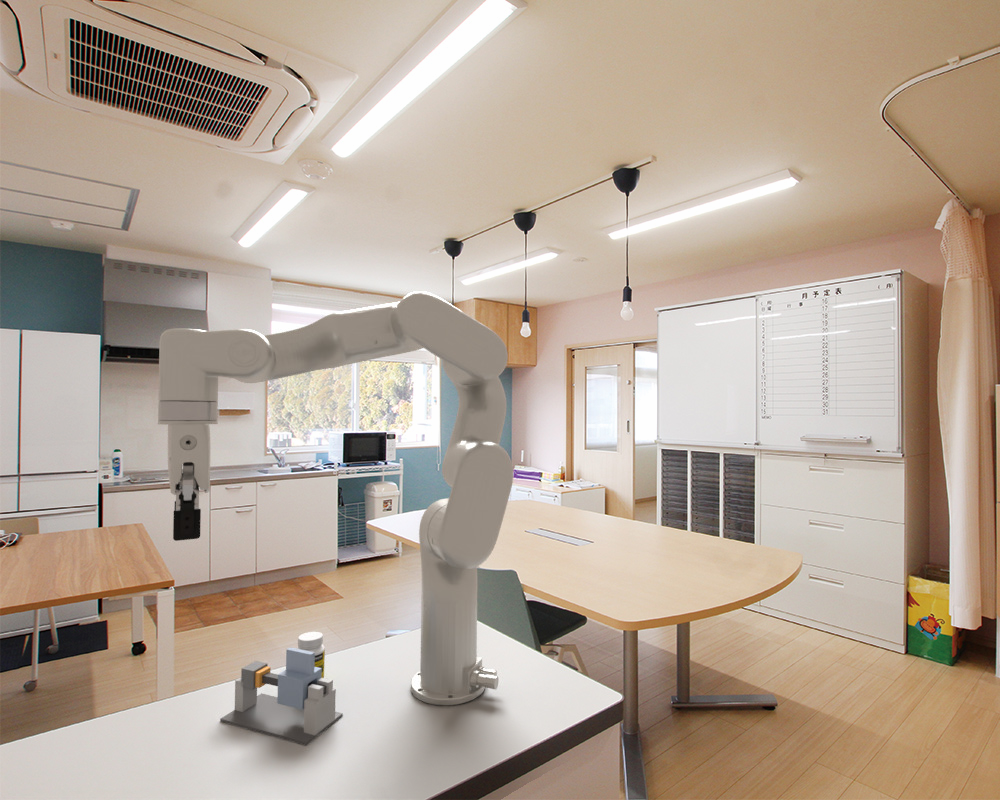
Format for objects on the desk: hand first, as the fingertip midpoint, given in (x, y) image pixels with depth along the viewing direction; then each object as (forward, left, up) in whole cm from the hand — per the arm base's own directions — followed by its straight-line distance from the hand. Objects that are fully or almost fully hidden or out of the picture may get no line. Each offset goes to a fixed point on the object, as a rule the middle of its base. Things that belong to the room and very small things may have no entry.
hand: (186, 532), depth 78 cm
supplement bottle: (-7, -18, -29) cm, 35 cm away
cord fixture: (-10, -9, -29) cm, 32 cm away
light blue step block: (-13, -9, -25) cm, 30 cm away
